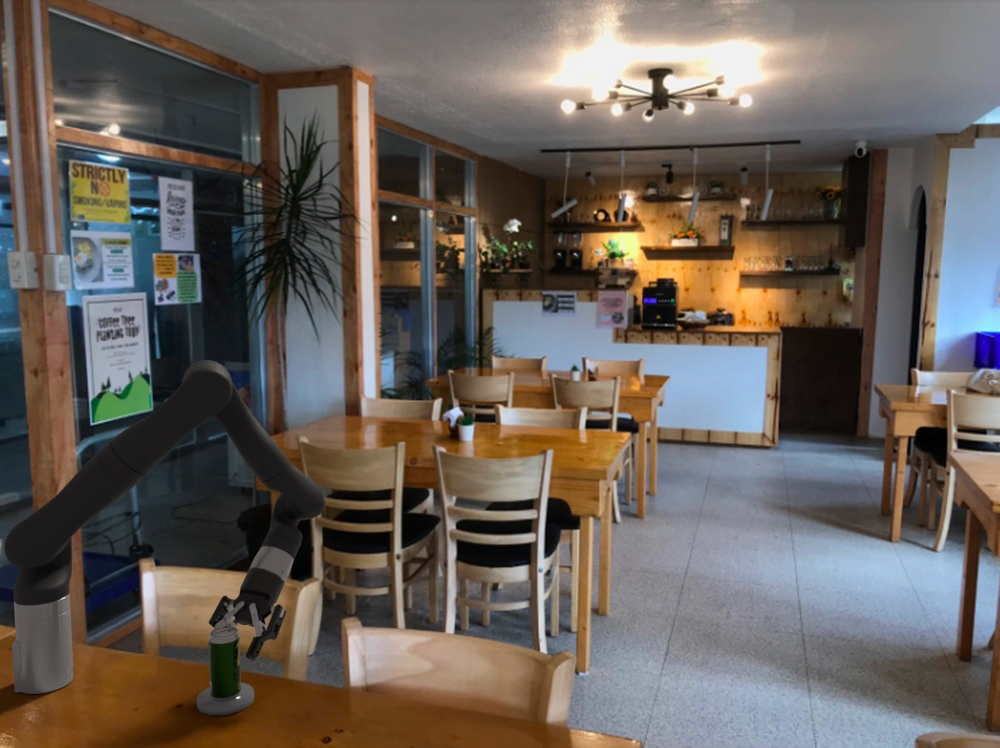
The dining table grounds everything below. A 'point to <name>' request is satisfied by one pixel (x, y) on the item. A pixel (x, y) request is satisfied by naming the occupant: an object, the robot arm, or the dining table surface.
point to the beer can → (224, 663)
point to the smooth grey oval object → (225, 702)
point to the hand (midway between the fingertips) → (230, 655)
